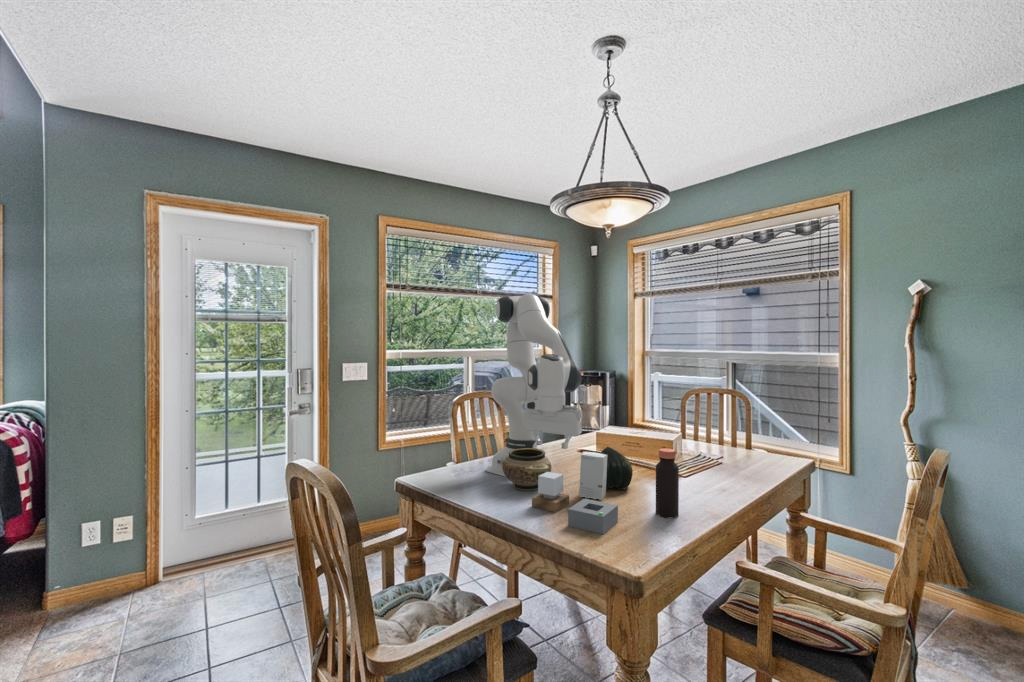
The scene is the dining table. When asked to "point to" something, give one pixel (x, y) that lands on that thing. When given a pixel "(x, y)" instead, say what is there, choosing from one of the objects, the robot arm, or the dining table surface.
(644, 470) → the dining table surface
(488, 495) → the dining table surface
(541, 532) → the dining table surface
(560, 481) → the plug
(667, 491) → the bottle
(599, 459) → the skincare box
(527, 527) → the dining table surface
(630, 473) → the squash
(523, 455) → the ceramic bowl
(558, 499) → the cradle
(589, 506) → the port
